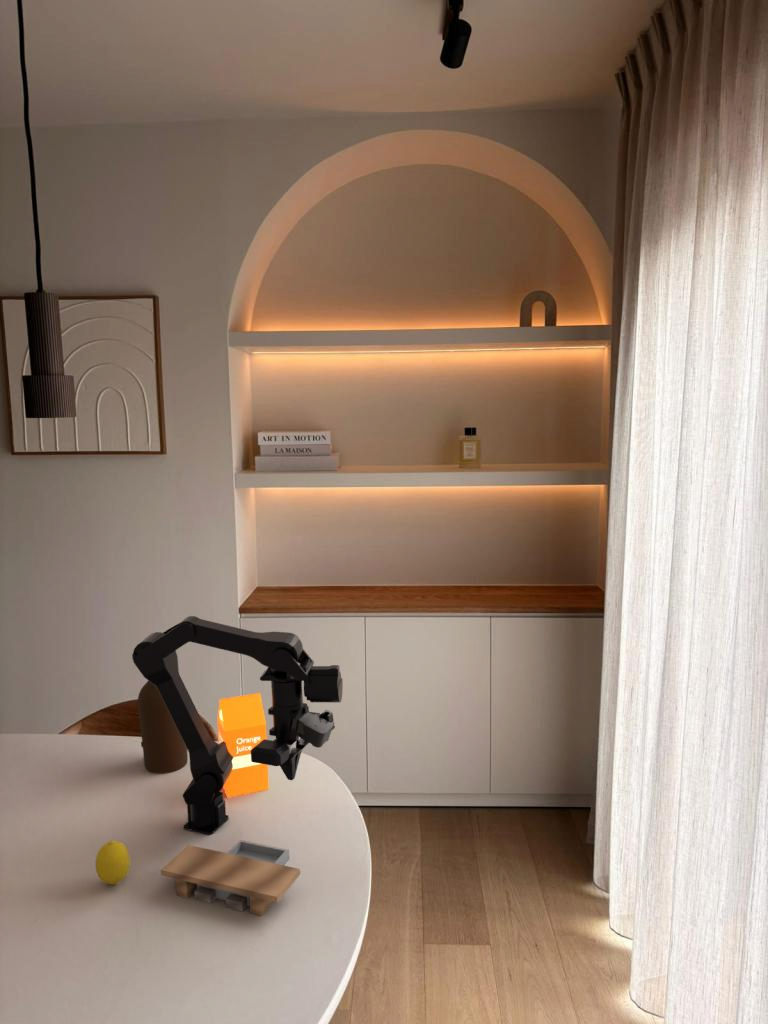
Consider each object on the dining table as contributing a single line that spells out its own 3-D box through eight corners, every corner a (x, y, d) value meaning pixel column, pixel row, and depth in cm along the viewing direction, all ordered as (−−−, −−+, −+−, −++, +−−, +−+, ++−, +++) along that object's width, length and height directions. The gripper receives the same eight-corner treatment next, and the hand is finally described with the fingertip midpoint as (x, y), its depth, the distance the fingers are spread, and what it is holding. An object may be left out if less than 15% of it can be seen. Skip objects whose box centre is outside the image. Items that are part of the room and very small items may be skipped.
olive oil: (200, 760, 185) (194, 654, 181) (165, 779, 176) (158, 669, 172) (166, 750, 190) (160, 647, 186) (131, 768, 181) (124, 661, 178)
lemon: (120, 896, 135) (117, 851, 134) (90, 892, 136) (87, 848, 135) (137, 876, 141) (134, 833, 139) (108, 873, 142) (105, 831, 141)
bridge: (162, 891, 136) (160, 869, 136) (189, 865, 144) (188, 844, 143) (278, 920, 128) (277, 896, 128) (300, 890, 136) (299, 868, 135)
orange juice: (269, 789, 171) (265, 699, 168) (227, 798, 167) (222, 706, 164) (260, 773, 178) (256, 686, 175) (219, 781, 174) (215, 693, 171)
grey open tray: (197, 894, 136) (196, 883, 135) (240, 849, 149) (240, 839, 148) (249, 906, 132) (249, 895, 132) (289, 860, 145) (288, 849, 145)
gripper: (302, 726, 141) (306, 810, 143) (347, 688, 158) (349, 764, 160) (247, 718, 145) (251, 799, 147) (296, 682, 162) (299, 756, 164)
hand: (291, 779), depth 155 cm, fingers closed
